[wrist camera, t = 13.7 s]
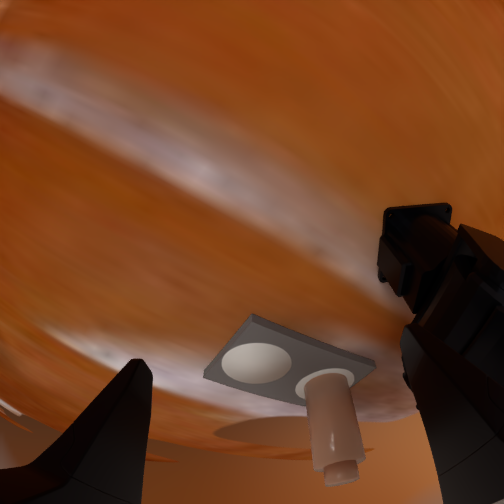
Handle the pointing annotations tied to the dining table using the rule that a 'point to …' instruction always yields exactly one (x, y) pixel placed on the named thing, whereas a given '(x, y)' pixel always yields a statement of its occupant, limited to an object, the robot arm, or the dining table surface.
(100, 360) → the dining table surface
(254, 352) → the slate board
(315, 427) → the light brown tall cylinder
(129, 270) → the dining table surface
